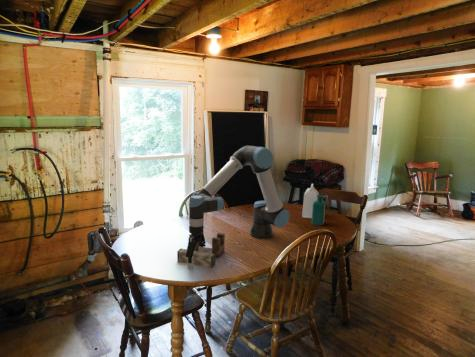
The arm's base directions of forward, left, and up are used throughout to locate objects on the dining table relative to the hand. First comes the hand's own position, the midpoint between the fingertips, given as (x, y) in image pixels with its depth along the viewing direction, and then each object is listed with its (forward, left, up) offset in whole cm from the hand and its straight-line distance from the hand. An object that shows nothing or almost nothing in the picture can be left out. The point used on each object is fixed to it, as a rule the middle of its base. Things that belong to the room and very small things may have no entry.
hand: (196, 262), depth 179 cm
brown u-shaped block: (0, -15, 0) cm, 15 cm away
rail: (0, 0, 0) cm, 0 cm away
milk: (-50, -111, 0) cm, 122 cm away
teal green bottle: (-58, -93, 0) cm, 110 cm away
